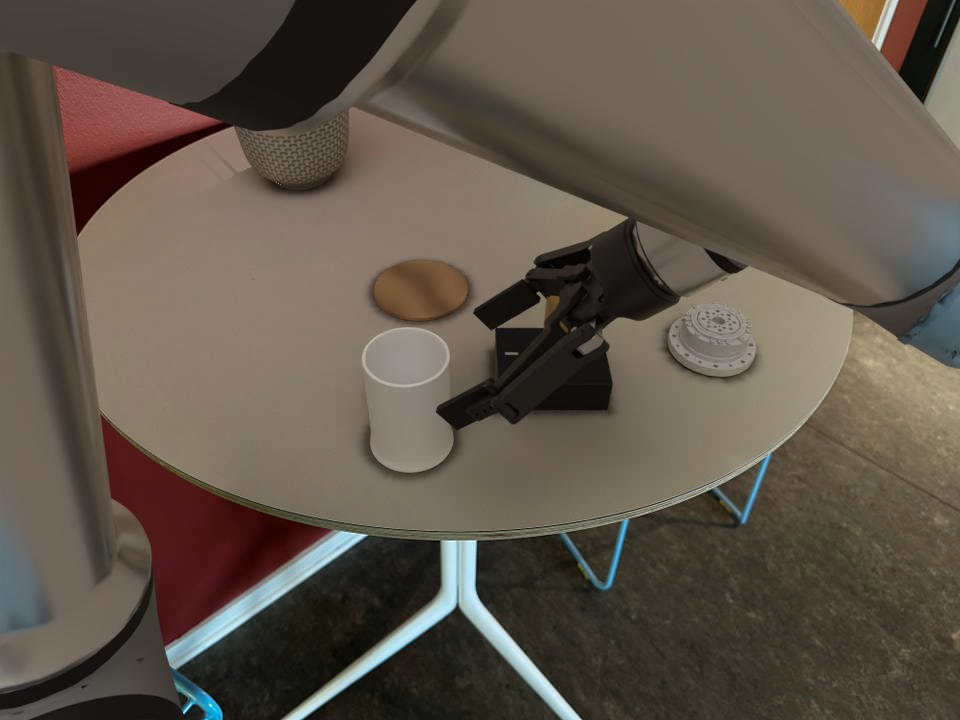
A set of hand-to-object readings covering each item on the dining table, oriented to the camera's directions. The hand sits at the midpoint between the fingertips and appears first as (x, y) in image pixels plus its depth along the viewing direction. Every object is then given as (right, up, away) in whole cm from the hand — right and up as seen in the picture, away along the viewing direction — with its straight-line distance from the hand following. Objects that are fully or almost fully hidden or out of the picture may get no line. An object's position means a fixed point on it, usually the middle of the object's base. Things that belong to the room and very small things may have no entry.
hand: (466, 365), depth 66 cm
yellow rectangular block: (+9, +1, +11) cm, 14 cm away
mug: (-5, -7, +8) cm, 12 cm away
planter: (-27, +29, +45) cm, 60 cm away
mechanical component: (+29, +2, +18) cm, 34 cm away
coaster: (-6, +9, +25) cm, 27 cm away
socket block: (+9, -2, +13) cm, 16 cm away
